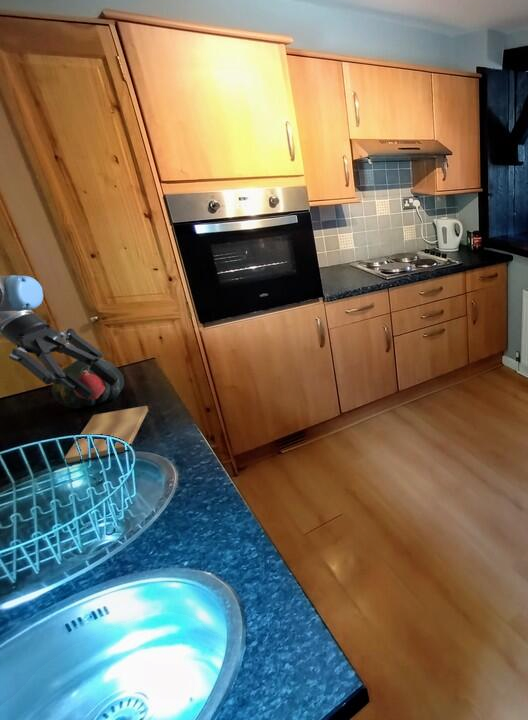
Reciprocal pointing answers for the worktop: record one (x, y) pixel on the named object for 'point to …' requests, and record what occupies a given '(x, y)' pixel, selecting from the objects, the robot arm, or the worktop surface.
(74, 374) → the squash
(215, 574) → the worktop surface
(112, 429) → the cutting board
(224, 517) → the worktop surface
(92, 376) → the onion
